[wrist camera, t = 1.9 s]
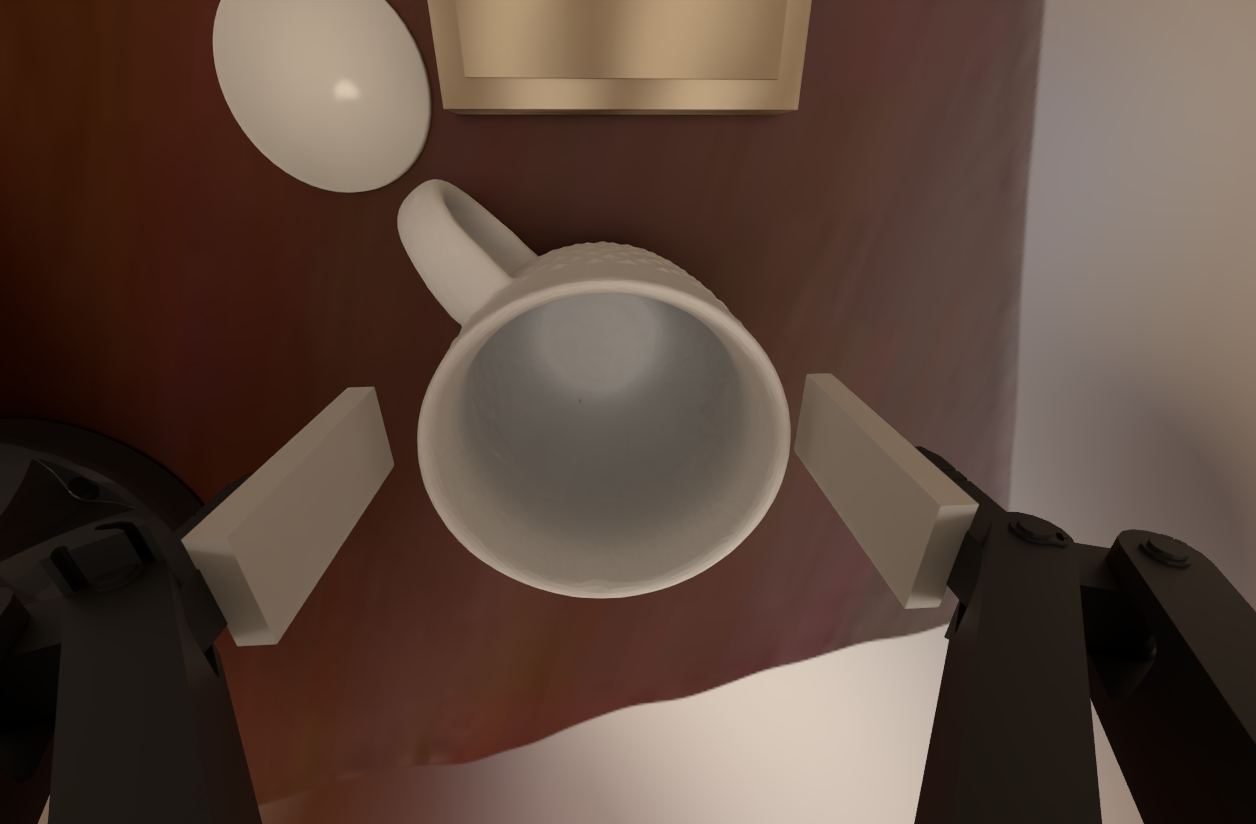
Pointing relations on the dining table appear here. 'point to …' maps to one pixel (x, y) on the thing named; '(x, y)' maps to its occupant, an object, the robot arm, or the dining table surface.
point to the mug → (588, 407)
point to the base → (620, 56)
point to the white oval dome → (325, 88)
